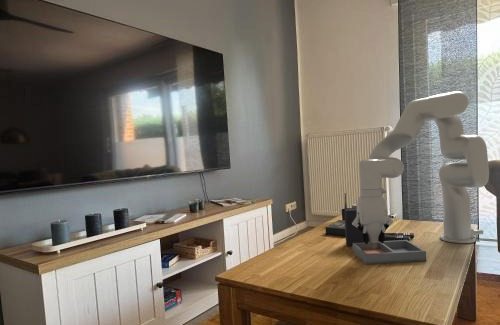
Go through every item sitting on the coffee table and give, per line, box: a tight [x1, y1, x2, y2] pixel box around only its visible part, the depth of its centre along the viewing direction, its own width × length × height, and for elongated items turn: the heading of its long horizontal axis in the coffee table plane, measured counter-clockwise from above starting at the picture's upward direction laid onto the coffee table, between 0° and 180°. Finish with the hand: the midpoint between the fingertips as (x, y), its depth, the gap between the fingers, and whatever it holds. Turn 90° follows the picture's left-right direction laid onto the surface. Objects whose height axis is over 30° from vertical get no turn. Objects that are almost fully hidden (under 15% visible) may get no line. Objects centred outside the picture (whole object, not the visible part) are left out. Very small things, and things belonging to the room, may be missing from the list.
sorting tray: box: [352, 239, 427, 266], centre depth 122 cm, size 21×14×4 cm, turn 90°
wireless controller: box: [325, 193, 348, 238], centre depth 161 cm, size 20×14×17 cm
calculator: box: [343, 208, 369, 248], centre depth 137 cm, size 11×4×15 cm, turn 84°
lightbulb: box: [366, 223, 382, 249], centre depth 122 cm, size 6×6×11 cm
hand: (373, 242), depth 122 cm, fingers closed on lightbulb, 5 cm apart
